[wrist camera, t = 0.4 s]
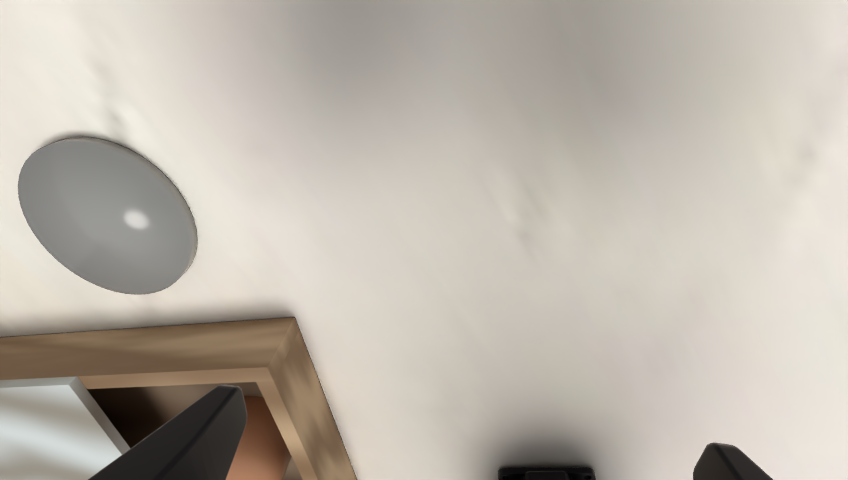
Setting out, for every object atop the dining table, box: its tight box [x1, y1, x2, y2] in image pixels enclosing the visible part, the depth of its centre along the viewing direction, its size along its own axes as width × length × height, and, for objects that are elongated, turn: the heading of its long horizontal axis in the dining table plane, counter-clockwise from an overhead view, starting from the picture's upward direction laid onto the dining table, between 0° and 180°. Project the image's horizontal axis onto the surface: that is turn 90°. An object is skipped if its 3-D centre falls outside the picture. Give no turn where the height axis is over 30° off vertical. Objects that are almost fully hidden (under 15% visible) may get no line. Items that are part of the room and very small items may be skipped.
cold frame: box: [0, 317, 357, 480], centre depth 30 cm, size 17×22×5 cm
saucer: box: [18, 137, 197, 294], centre depth 24 cm, size 9×9×1 cm
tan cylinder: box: [226, 395, 292, 480], centre depth 28 cm, size 6×6×7 cm
